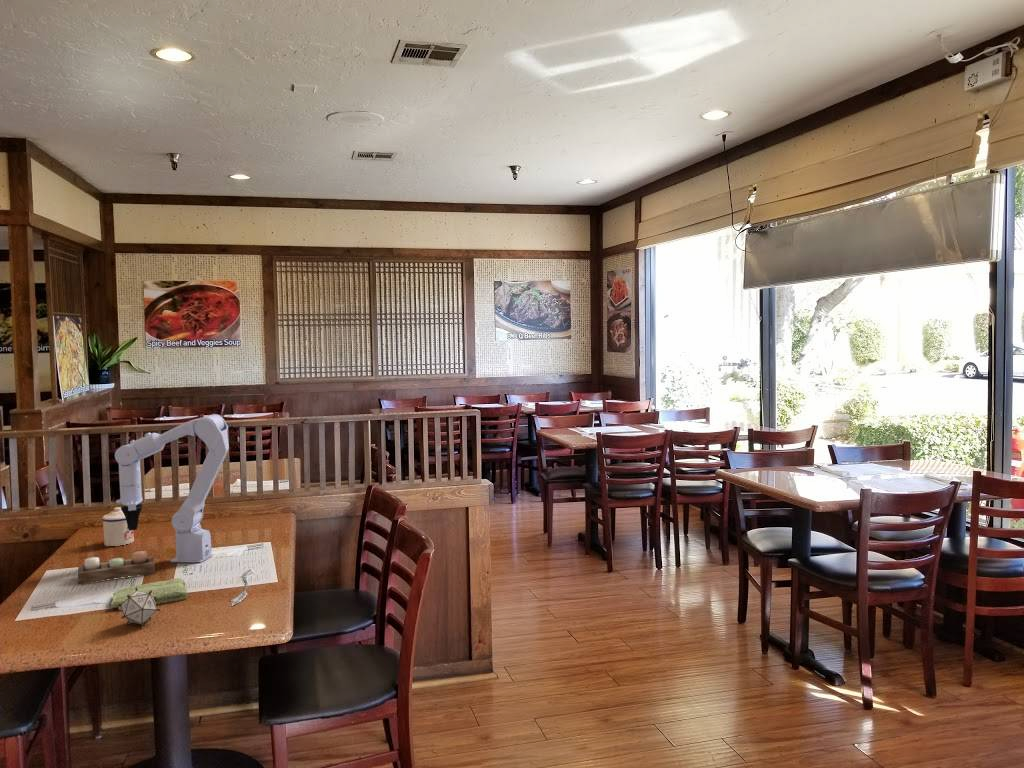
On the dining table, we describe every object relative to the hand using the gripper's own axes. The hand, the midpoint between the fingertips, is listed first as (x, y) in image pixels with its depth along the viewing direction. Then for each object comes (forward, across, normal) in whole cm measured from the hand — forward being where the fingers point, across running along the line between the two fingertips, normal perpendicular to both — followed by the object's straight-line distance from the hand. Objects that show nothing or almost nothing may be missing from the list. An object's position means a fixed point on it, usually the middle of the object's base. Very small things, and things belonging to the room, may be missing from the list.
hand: (132, 529), depth 235 cm
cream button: (+6, +13, -11) cm, 18 cm away
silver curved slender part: (+10, +41, +25) cm, 49 cm away
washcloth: (+10, +39, +2) cm, 40 cm away
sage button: (+8, +13, -5) cm, 16 cm away
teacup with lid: (+10, -25, -3) cm, 27 cm away
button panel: (+9, +13, -5) cm, 17 cm away
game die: (+10, +57, 0) cm, 58 cm away
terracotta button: (+6, +13, +1) cm, 14 cm away
